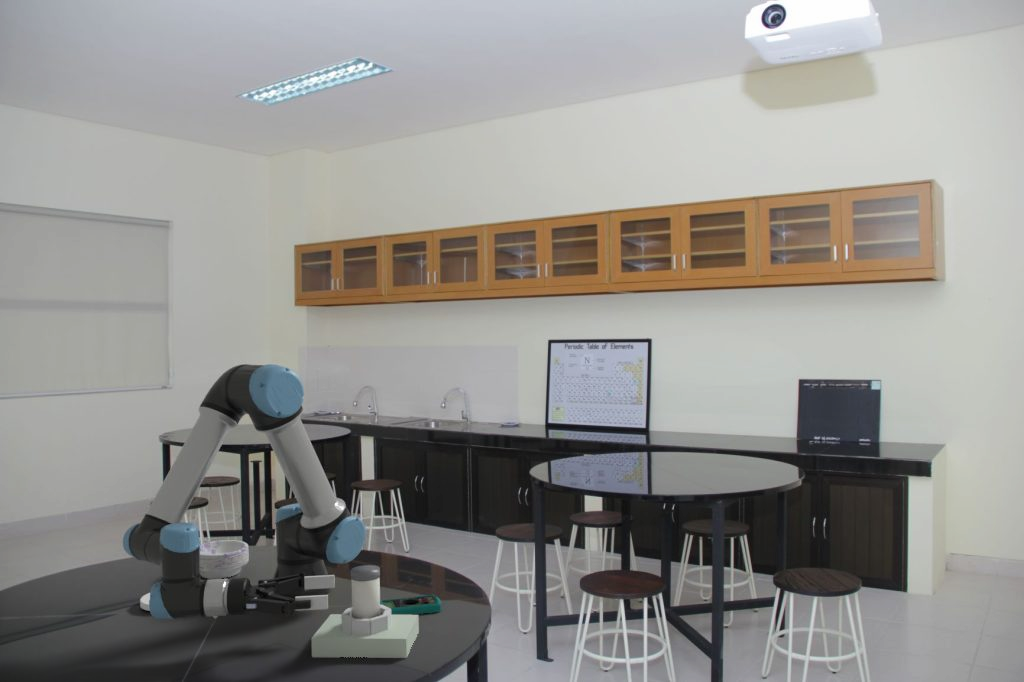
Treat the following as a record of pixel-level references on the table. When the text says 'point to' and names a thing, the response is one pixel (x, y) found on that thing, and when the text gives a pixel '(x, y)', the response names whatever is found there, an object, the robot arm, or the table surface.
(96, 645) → the table surface
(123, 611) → the table surface
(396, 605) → the digital multimeter
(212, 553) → the paper bowls
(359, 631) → the octagonal ring base plate
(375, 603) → the white grey-capped cylinder
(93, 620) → the table surface
